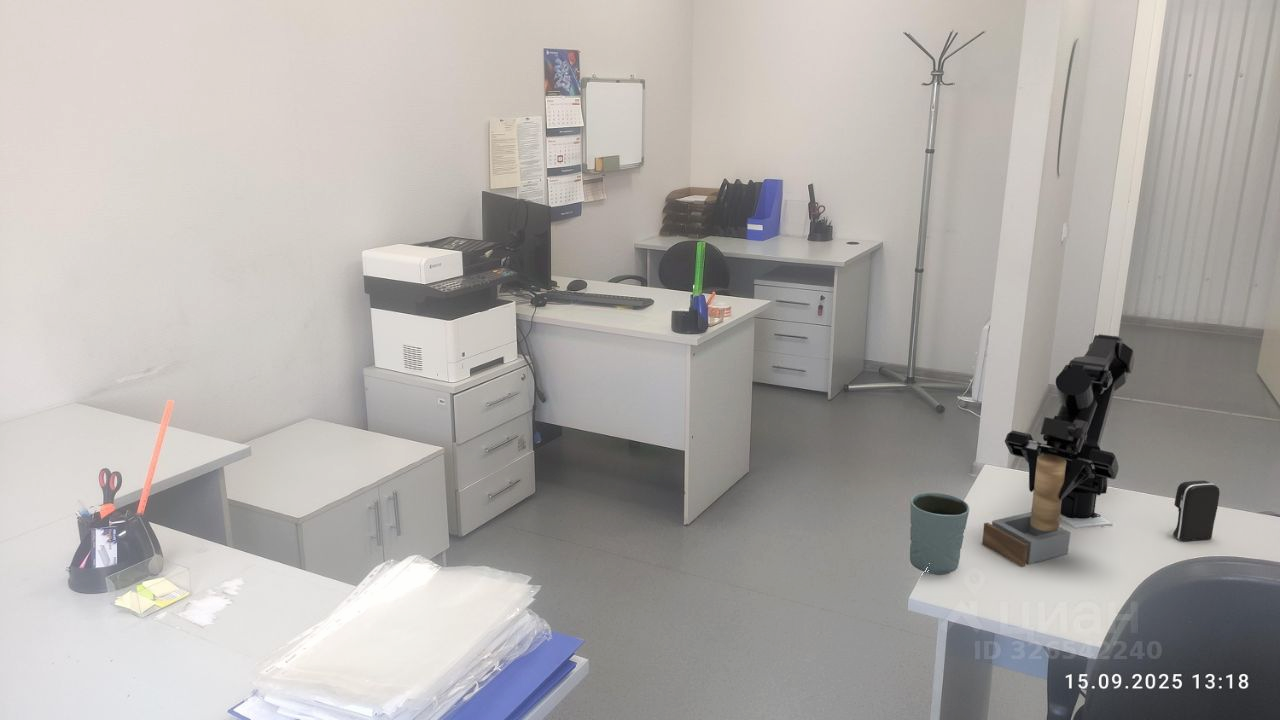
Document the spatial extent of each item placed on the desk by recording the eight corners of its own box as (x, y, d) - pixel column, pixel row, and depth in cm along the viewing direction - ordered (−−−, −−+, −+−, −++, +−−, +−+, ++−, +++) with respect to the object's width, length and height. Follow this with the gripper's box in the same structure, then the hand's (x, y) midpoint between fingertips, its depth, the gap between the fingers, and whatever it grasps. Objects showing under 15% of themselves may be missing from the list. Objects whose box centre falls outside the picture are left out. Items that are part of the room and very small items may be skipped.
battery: (1198, 530, 175) (1207, 477, 172) (1213, 539, 172) (1222, 484, 169) (1166, 533, 174) (1174, 479, 171) (1180, 542, 171) (1189, 487, 168)
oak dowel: (1049, 518, 166) (1056, 453, 162) (1064, 530, 161) (1072, 464, 158) (1025, 520, 165) (1031, 455, 162) (1039, 532, 161) (1046, 465, 157)
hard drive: (1038, 501, 188) (1076, 526, 176) (1073, 497, 190) (1113, 522, 178) (1038, 508, 189) (1075, 533, 177) (1073, 505, 190) (1112, 530, 178)
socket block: (1027, 532, 175) (1030, 511, 174) (1067, 553, 167) (1070, 532, 165) (990, 542, 172) (992, 520, 170) (1028, 564, 163) (1031, 541, 162)
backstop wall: (985, 543, 171) (987, 522, 170) (1025, 566, 162) (1027, 544, 161) (982, 544, 171) (984, 523, 170) (1022, 567, 162) (1024, 545, 161)
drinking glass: (895, 556, 167) (899, 497, 164) (937, 545, 171) (941, 488, 168) (932, 581, 158) (937, 519, 155) (976, 569, 162) (981, 508, 159)
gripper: (1013, 389, 166) (983, 462, 161) (1121, 410, 153) (1093, 490, 149) (1025, 418, 174) (997, 488, 169) (1129, 440, 161) (1103, 516, 157)
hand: (1045, 494), depth 161 cm, fingers closed on oak dowel, 5 cm apart
